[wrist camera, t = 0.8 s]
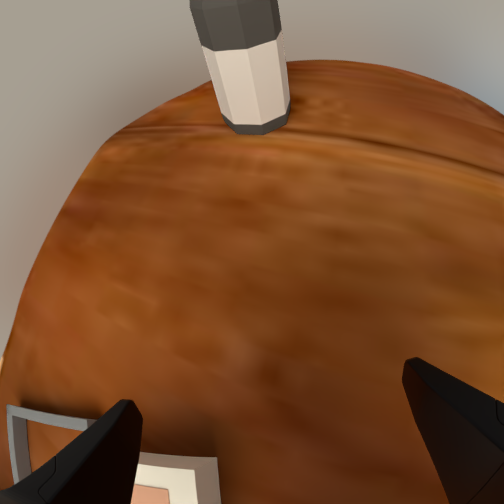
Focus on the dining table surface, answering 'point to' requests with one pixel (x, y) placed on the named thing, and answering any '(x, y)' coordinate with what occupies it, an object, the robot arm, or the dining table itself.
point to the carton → (176, 480)
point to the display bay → (19, 434)
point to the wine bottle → (245, 61)
